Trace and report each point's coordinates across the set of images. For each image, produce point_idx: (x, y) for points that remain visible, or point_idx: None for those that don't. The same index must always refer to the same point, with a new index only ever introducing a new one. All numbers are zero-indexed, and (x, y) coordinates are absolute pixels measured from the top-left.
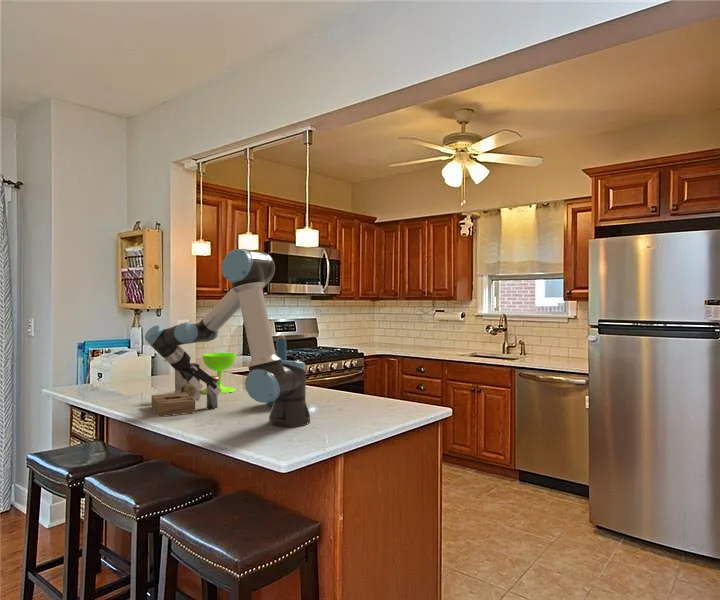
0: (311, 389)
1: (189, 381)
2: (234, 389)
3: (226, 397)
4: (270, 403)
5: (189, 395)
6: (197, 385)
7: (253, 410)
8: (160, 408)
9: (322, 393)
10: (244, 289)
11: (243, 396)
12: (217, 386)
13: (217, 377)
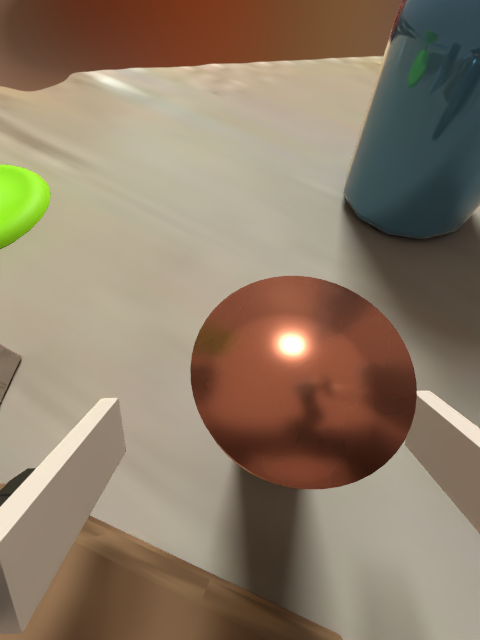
0: (236, 74)
1: (16, 632)
2: (36, 175)
3: (104, 251)
4: (437, 230)
5: (95, 553)
6: (97, 468)
7: (454, 315)
8: None
9: (307, 82)
10: None
11: (151, 206)
12: (475, 433)
13: (375, 330)
